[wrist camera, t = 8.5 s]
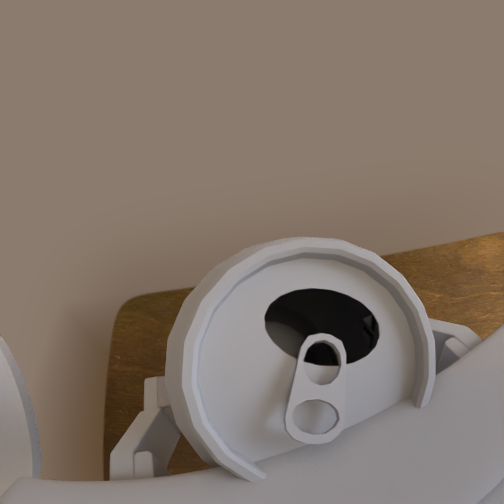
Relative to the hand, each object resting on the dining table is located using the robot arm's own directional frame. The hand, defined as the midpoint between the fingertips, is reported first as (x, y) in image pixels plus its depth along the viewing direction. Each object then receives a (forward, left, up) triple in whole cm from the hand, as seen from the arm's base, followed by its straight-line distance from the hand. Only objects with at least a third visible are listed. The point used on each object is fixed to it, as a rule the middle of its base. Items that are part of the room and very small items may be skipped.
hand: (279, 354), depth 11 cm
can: (0, -1, -7) cm, 7 cm away
